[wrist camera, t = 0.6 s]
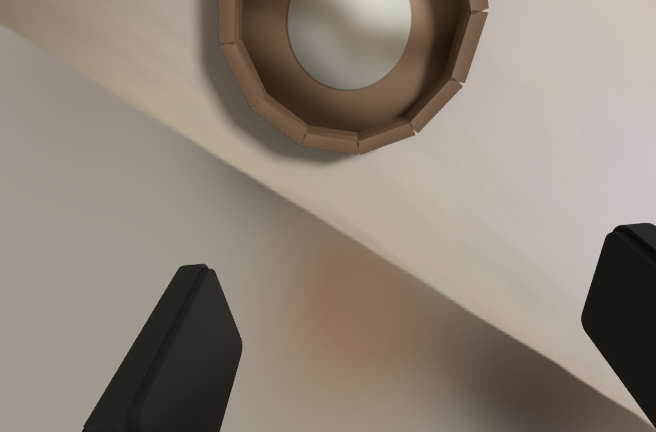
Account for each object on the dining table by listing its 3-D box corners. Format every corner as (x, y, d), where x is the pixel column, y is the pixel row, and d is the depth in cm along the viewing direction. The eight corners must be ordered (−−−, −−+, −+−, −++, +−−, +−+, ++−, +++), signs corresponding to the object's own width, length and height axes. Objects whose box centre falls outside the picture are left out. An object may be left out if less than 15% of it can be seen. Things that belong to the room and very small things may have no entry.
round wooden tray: (230, -163, 25) (214, -185, 22) (512, -109, 26) (534, -123, 23) (229, 122, 35) (218, 134, 32) (430, 153, 36) (437, 168, 33)
